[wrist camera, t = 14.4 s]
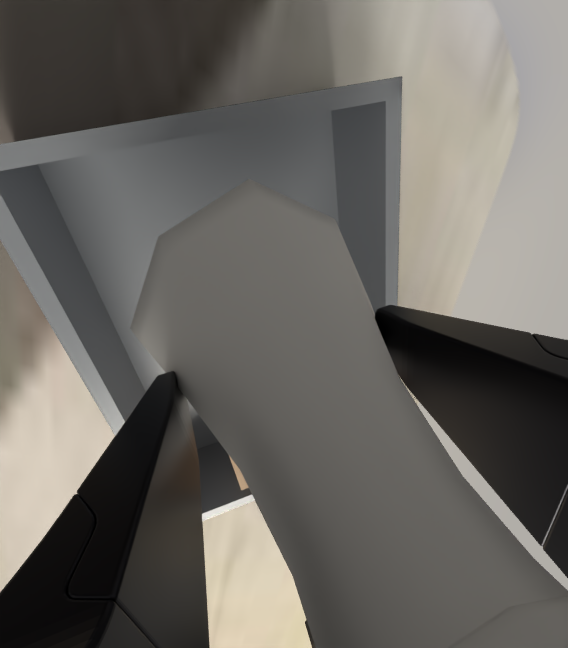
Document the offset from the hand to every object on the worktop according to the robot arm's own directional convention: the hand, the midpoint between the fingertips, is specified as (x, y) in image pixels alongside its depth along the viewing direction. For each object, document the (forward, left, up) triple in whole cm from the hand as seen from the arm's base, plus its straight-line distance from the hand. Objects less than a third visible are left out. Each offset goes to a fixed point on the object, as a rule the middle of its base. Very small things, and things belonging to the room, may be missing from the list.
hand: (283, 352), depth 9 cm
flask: (0, 0, -3) cm, 3 cm away
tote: (-4, 0, -10) cm, 11 cm away
